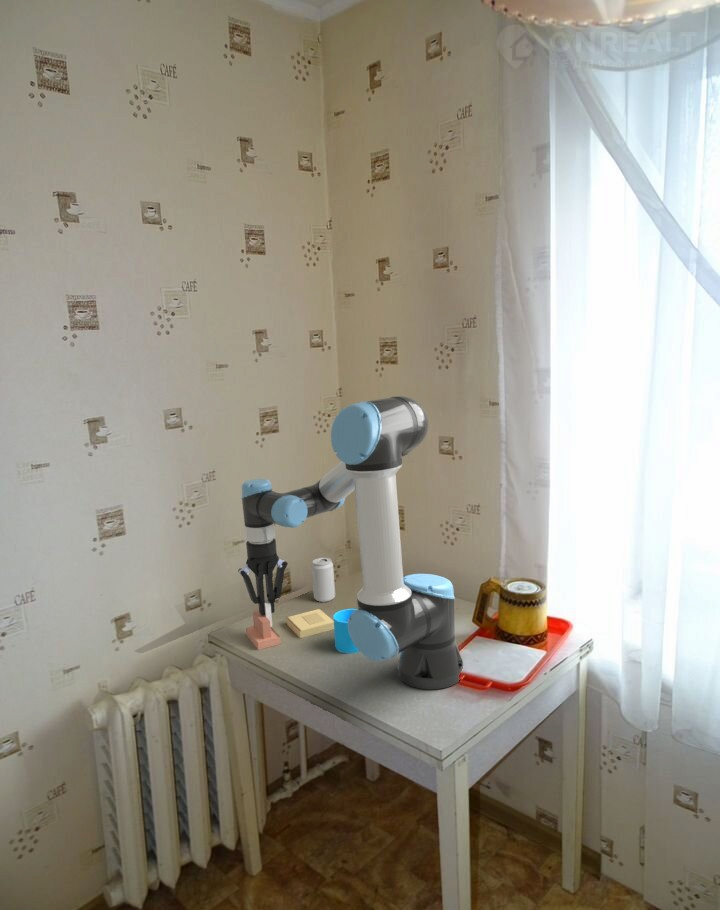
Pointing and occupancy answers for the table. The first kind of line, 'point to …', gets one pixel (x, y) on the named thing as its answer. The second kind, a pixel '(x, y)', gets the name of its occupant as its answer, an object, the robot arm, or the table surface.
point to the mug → (343, 632)
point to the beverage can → (323, 579)
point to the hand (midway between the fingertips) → (268, 625)
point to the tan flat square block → (310, 623)
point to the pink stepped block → (262, 632)
